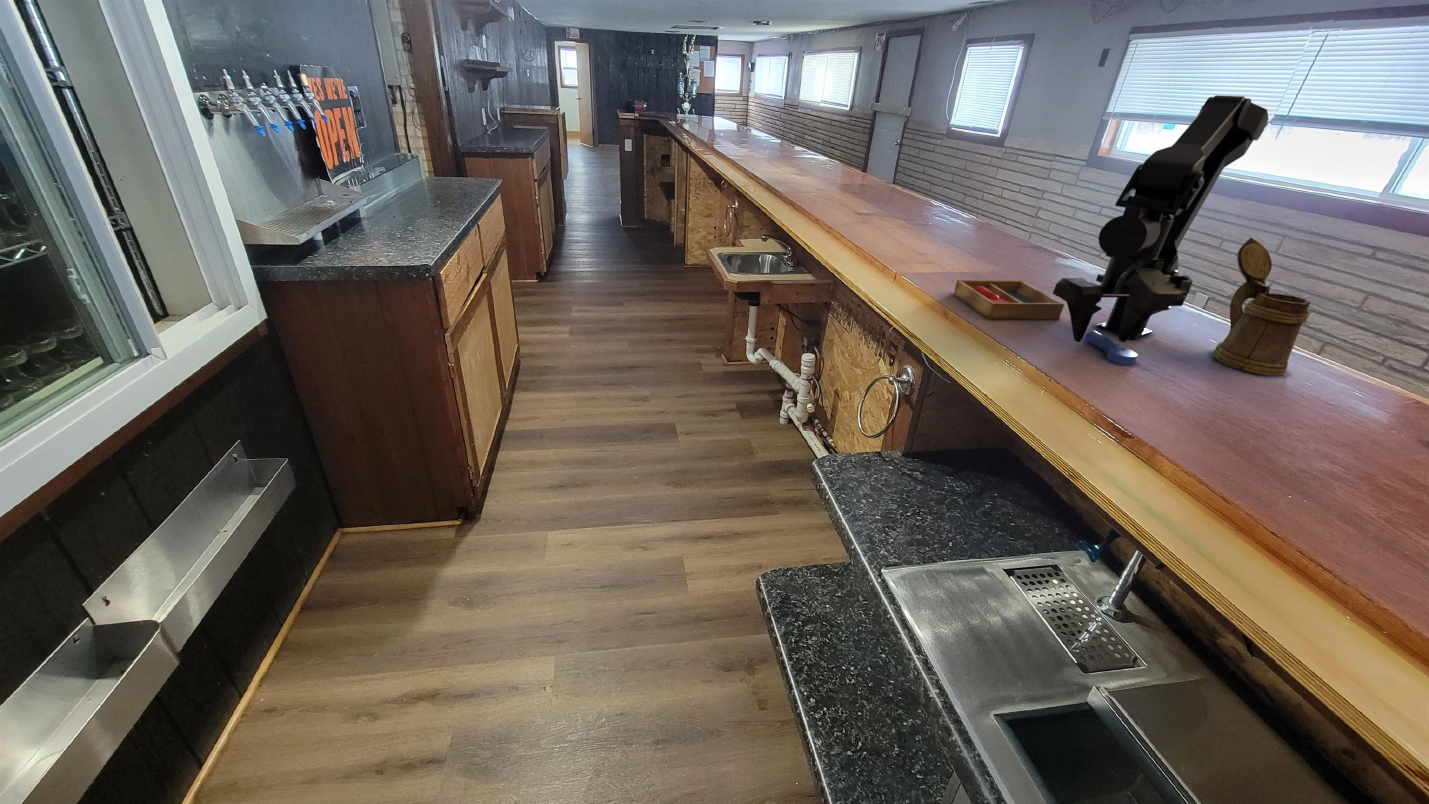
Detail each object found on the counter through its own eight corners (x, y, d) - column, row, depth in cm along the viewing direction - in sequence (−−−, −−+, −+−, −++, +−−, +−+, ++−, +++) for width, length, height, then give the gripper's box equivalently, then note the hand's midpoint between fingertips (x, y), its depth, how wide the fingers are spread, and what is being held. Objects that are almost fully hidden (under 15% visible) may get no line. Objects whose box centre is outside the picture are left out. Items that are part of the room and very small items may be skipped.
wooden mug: (1218, 340, 99) (1272, 237, 90) (1299, 375, 88) (1370, 260, 79) (1175, 341, 98) (1226, 237, 89) (1252, 377, 86) (1319, 261, 77)
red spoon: (967, 294, 114) (970, 284, 113) (985, 294, 114) (987, 284, 113) (993, 312, 105) (996, 301, 104) (1012, 312, 106) (1015, 301, 105)
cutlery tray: (953, 294, 116) (957, 280, 114) (1017, 294, 117) (1021, 280, 116) (988, 319, 104) (993, 303, 102) (1059, 319, 105) (1064, 304, 104)
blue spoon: (1075, 339, 97) (1079, 328, 96) (1096, 339, 97) (1100, 328, 96) (1117, 365, 88) (1122, 353, 87) (1139, 365, 89) (1145, 353, 88)
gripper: (1119, 261, 78) (1079, 362, 86) (1239, 263, 80) (1189, 362, 88) (1068, 241, 88) (1036, 334, 96) (1176, 243, 90) (1136, 334, 97)
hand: (1099, 341), depth 94 cm, fingers open, 8 cm apart
